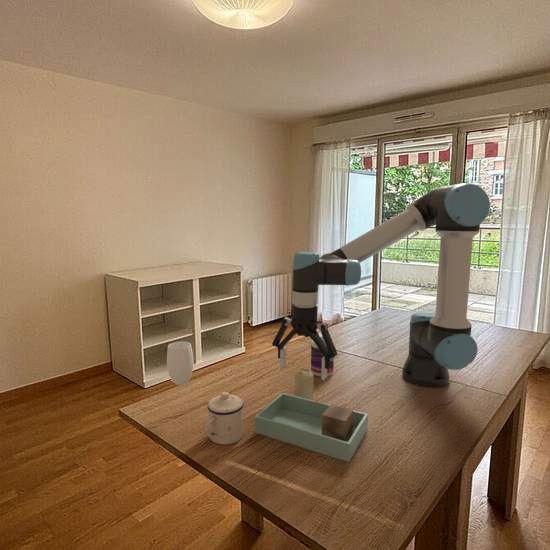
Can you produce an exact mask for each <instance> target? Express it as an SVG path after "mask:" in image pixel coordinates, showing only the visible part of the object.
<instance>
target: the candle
mask: <svg viewBox="0 0 550 550" xmlns="http://www.w3.org/2000/svg"><path fill="white" fill-rule="evenodd" d="M294 378H295V379H294V383H295V384H294V396H297V397H301V398H306V399H310V400H314V374H313V373H312V372H311V369H309V368H303V367H301V368H299V370H298V371H297V372H295V374H294Z"/></svg>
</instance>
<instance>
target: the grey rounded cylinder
mask: <svg viewBox="0 0 550 550" xmlns="http://www.w3.org/2000/svg"><path fill="white" fill-rule="evenodd" d="M194 363H195V362H194V351H193V348H192V343H191V342H188V341H175V342H174V341H173V342H171V343H169V344H168V346H167V351H166V366H167V371H168V372H167V373H168V376H169V378H170V380H171V382H172V383H174V384H175V385H177V386H184V385H186V384H187V383H189V381H191V378H192V375H193V372H194V371H193V369H194Z"/></svg>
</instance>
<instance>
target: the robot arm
mask: <svg viewBox="0 0 550 550" xmlns="http://www.w3.org/2000/svg"><path fill="white" fill-rule="evenodd" d="M490 210H491V201H490V198H489V195H488V194H487V192H486V191H485V190H484V189H483V188H482V187H481V186H479V185H477V184H474V183H464V182H461V183H455V184H451V185H443V186H442V185H441V186H439V187H435V188H434V189H432V190H430V191H428V192H427V193H425V194H423V195H422V196H420V197H419V198H418V199H416V200H414V201H412V202H411V203H409V204H408V205H407V206H406V209H405V210H403V211H401V212H400V213H398V214H396V215H394V216H393V217H391V218H390V219H389V218H388V219H387V220H386V221H384V222H382V223H381V224H379V225H377V226H376V227H374V228H371V229H370V230H369V231H366V232H365V233H363V234H362V235H359V236H358V237H356V238H354V239H352V240H350V241H349V242H348V243H345V244H344V245H342V246H340V247H339V248H337V249H336V250H334V251H332V252H330V253H329V252H328V253H324V254H322V255H321V256H320V254H319V252H315V251H299V252H296V253H294V256H293V262H292V263H293V264H292V292H291V293H292V295H291V296H292V298H291V303H292V305H291V318H289V317H290V316H289V317H288V316H285V317H284V318H282V319H281V325H280V327H279V330H278V331H277V333H276V335H275V336H274V339H273V341H272V343H271V345H272V346H273V347H276V348H277V358H278V359H279V371H283V370H285V369H286V368H287V347H285V346H286V345H287V344H288V343H289V341H291V340H292V339H293V337H295V336H296V335H297V336H300V337H301V336H303V337H305V338H308V337H309V339H311V341H314V342H315V344H316V345H317V347H318V348H319V350H320V351H321V353H322V354H323V356H324V357H323V358H322V371H321V376H320V377H321V378H320V380H322V381H325V379H326V378H328V376H327V369H329V368H330V364H331V358H335V357H336V356H338V351H337V348H336V347H335V344H333V343H334V341H333V340H332V339H333V338H332V337H331V334H330V332H329V327H328V323H327V322H324V323H318V308H319V307H318V304H319V286H347V287H348V286H355V285H358V284H359V283H360V281H361V277H362V267H361V263H362V262H364V261H366V260H367V259H369V258H371V257H373V256H375V255H376V254H378V253H380V252H382V251H383V250H385V249H387V248H389V247H390V246H392V245H395V244H396V243H397V242H399V241H401V240H403V239H405V238H407V237H408V236H410V235H412V234H414V233H416V232H417V231H421V232H424V231H425V230H427V229H429V228H431V227H435V230H434V231H435V232H436V233H437V235H439V237H440V239H439V240H440V241H439V254H438V255H439V256H438V267H437V268H438V271H437V283H436V284H437V286H436V299H435V300H436V301H435V312H415V313H413V314H412V315H411V316H410V321H409V337H408V339H409V340H408V341H409V342H408V355H407V358H406V360H405V363H403V364H404V365H403V367H402V371H401V372H402V373H401V375H402V378H403V380H404V381H407V382H408V383H411V384H413V385H415V386H419V387H424V388H425V387H426V388H442V387H446V386H447V385H448V384H449V383H450V373H449V370H452V371H457V370H462V369H464V368H467V367H469V365H470V364H472V363H473V362H474V361H475V359H476V357H477V355H478V351H479V350H478V348H479V347H478V344H477V342H476V340H475V339H474V338H473V336H472V323H471V322H470V320H469V319H468V318H467V316H468V303H469V292H470V291H469V289H470V281H471V280H470V279H471V267H472V266H471V264H472V253H473V251H472V250H473V241H474V237H475V236H476V235H478V234H479V233H480V229H481V224H482V223H483V222H484V220H485V219H487V218H488V216H489V212H490ZM290 325H291V326H292V329H291V331H290V332H289V333H288V334H287V335H286V336H285V337H284V335H285V333H286V331H287V328H288V327H289V326H290ZM317 329H318V330H319V332H321V334H322V337H323V339H324V341H325V344H326V345H325V344H324V342H323V341H322V339H321V338H320V336H319V334H318V331H317ZM283 337H284V338H283ZM326 346H327V347H326Z"/></svg>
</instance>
